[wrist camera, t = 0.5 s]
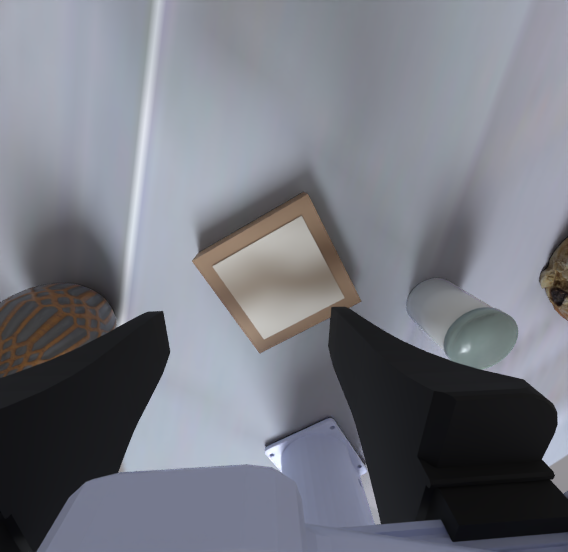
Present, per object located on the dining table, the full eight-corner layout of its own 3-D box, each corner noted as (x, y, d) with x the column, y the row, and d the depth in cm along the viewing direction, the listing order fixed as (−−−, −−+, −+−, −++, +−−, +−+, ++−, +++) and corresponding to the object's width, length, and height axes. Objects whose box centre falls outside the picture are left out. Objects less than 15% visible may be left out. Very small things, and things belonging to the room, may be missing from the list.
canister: (463, 309, 24) (523, 351, 18) (414, 332, 25) (459, 380, 19) (449, 267, 22) (510, 299, 17) (397, 293, 23) (440, 332, 17)
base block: (353, 290, 23) (362, 302, 21) (259, 339, 24) (259, 354, 22) (303, 191, 19) (308, 194, 17) (198, 252, 20) (191, 261, 19)
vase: (22, 318, 21) (-126, 410, 13) (59, 252, 20) (-83, 310, 12) (105, 360, 23) (21, 463, 15) (146, 303, 22) (76, 384, 14)
